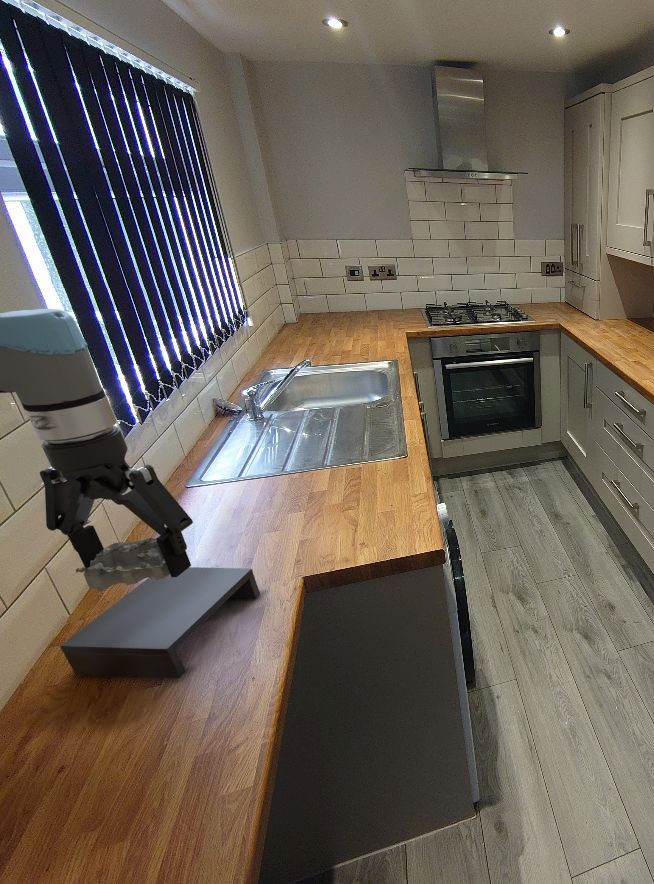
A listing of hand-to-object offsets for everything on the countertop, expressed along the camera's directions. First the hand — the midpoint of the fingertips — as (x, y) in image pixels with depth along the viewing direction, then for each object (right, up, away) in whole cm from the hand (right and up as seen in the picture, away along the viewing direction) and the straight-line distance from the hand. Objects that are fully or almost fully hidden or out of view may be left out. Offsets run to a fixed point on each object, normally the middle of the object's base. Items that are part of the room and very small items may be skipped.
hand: (140, 570), depth 76 cm
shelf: (-1, -12, +8) cm, 15 cm away
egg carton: (0, 0, 0) cm, 0 cm away
